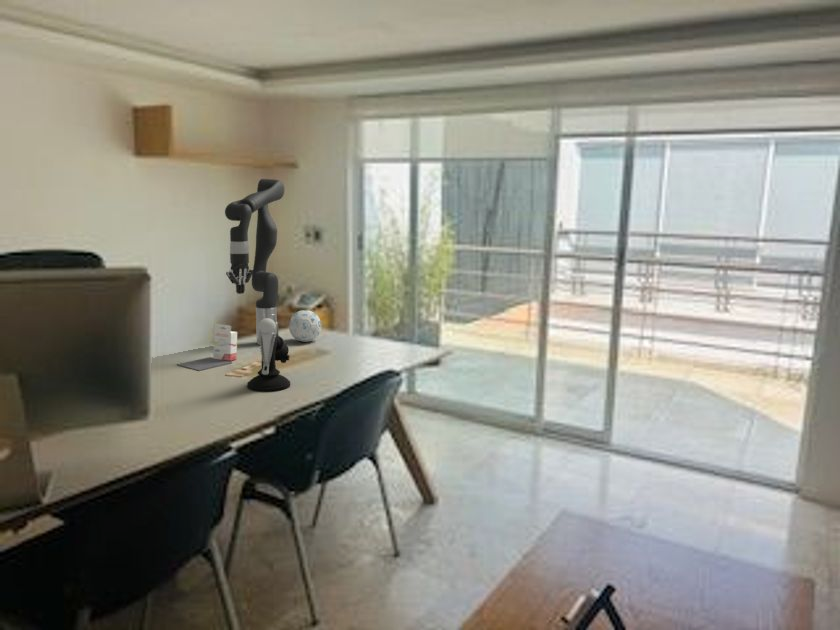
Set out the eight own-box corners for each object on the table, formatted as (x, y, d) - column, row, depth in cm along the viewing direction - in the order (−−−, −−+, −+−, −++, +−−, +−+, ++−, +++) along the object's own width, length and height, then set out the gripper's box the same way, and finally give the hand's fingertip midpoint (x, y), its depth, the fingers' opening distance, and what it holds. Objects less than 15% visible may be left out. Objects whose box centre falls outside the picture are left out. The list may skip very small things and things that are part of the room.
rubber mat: (210, 357, 276) (210, 356, 276) (232, 363, 269) (232, 362, 269) (177, 365, 263) (177, 364, 263) (199, 371, 256) (199, 370, 256)
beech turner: (251, 363, 269) (251, 360, 269) (267, 364, 268) (267, 361, 267) (225, 375, 250) (225, 372, 250) (241, 377, 249) (241, 374, 248)
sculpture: (240, 390, 232) (238, 320, 227) (265, 373, 255) (264, 309, 250) (282, 393, 230) (281, 323, 225) (303, 375, 253) (302, 311, 248)
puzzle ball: (300, 346, 302) (299, 314, 299) (283, 340, 313) (282, 309, 310) (327, 342, 312) (327, 310, 309) (310, 336, 323) (309, 306, 320)
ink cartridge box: (237, 359, 275) (238, 324, 273) (230, 361, 270) (231, 325, 269) (219, 356, 278) (220, 322, 276) (212, 358, 273) (213, 323, 271)
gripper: (246, 250, 281) (247, 290, 284) (220, 252, 270) (221, 294, 273) (258, 251, 277) (258, 292, 280) (232, 253, 266) (233, 296, 269)
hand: (240, 293), depth 277 cm, fingers closed
